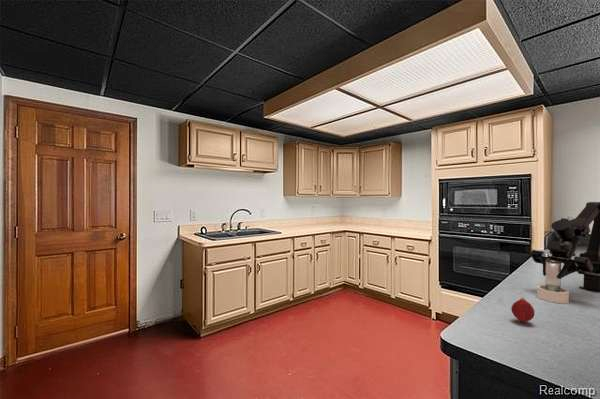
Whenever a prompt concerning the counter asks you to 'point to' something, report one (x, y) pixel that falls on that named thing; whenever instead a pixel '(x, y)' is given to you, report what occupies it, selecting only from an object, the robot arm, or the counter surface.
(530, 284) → the counter surface
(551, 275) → the canister
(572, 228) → the robot arm
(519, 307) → the onion
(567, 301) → the bowl
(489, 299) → the counter surface
